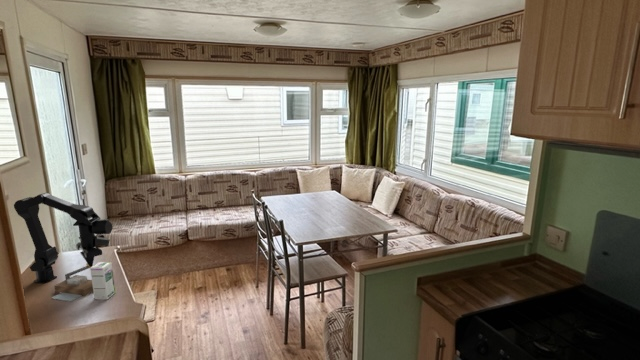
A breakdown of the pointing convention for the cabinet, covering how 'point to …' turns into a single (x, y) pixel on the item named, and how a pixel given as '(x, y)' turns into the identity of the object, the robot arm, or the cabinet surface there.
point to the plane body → (75, 288)
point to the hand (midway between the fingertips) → (91, 266)
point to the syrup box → (102, 280)
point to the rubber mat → (66, 296)
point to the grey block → (77, 280)
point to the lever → (76, 271)
